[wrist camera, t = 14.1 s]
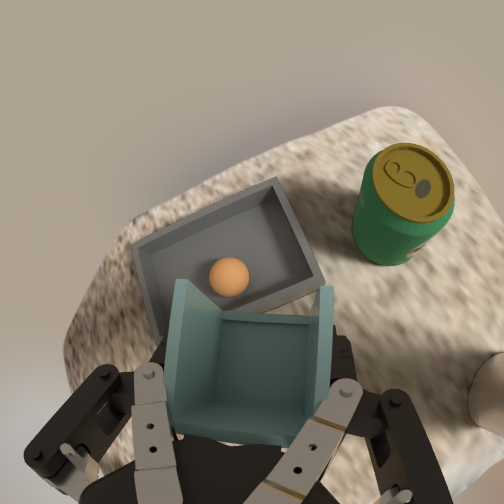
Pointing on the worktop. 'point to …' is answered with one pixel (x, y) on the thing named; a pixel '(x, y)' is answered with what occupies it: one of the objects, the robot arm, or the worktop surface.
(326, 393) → the teal open-sided box
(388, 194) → the beverage can
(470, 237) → the worktop surface
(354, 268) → the worktop surface
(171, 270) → the tray
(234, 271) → the ball
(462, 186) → the worktop surface
